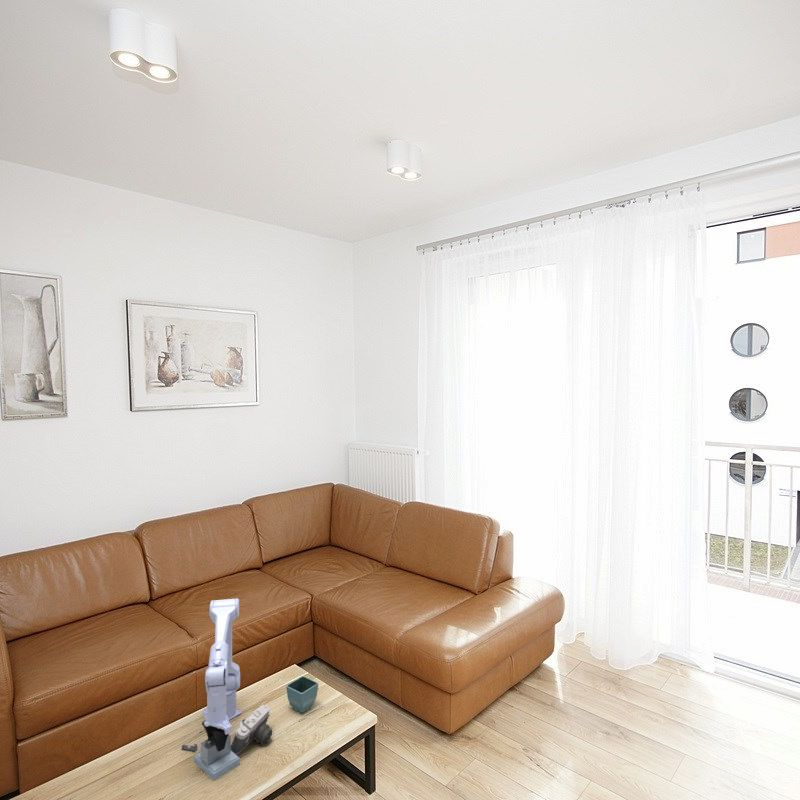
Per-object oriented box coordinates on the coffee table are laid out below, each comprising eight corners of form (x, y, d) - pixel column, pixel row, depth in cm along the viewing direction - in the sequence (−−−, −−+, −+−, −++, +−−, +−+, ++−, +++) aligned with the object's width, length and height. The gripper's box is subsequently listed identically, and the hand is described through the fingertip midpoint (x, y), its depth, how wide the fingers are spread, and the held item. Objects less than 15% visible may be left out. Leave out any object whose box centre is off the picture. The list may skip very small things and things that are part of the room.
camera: (225, 748, 168) (235, 724, 166) (257, 718, 183) (266, 695, 180) (246, 767, 165) (256, 743, 163) (277, 734, 180) (286, 711, 177)
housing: (200, 758, 161) (200, 739, 161) (223, 745, 167) (223, 727, 167) (207, 765, 158) (207, 746, 158) (230, 751, 164) (230, 733, 164)
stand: (194, 761, 164) (194, 754, 164) (219, 747, 170) (219, 739, 170) (213, 780, 156) (213, 772, 156) (239, 764, 163) (239, 756, 163)
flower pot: (302, 697, 198) (302, 675, 198) (319, 706, 193) (319, 682, 193) (285, 709, 191) (285, 685, 191) (301, 718, 186) (301, 694, 185)
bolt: (180, 750, 169) (180, 744, 169) (184, 746, 171) (184, 740, 171) (194, 752, 168) (193, 746, 168) (197, 748, 170) (197, 742, 170)
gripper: (193, 700, 164) (193, 742, 165) (217, 719, 155) (217, 763, 155) (213, 690, 170) (213, 731, 170) (237, 708, 160) (237, 751, 161)
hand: (216, 745), depth 163 cm, fingers closed on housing, 4 cm apart
